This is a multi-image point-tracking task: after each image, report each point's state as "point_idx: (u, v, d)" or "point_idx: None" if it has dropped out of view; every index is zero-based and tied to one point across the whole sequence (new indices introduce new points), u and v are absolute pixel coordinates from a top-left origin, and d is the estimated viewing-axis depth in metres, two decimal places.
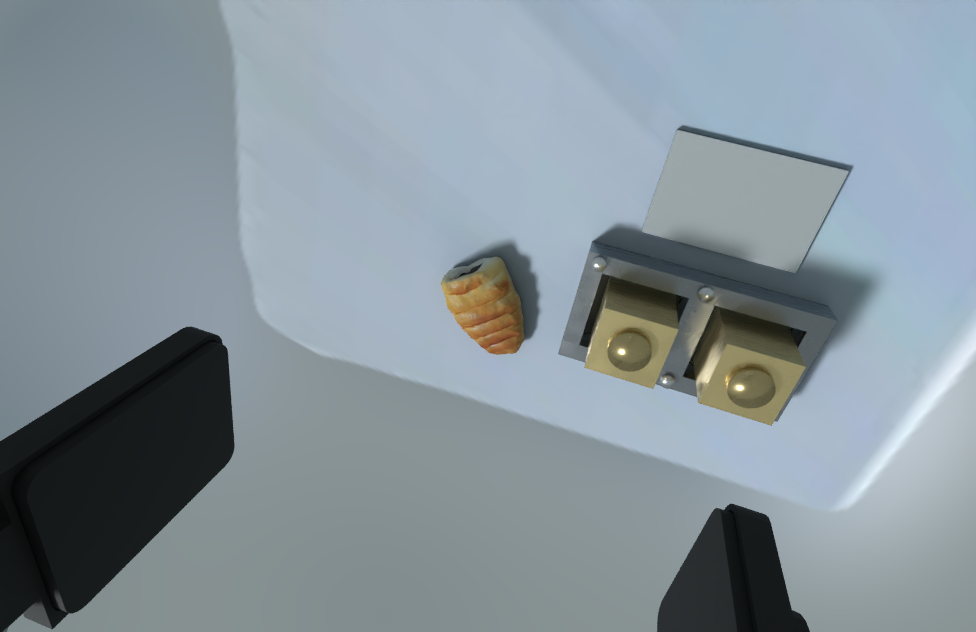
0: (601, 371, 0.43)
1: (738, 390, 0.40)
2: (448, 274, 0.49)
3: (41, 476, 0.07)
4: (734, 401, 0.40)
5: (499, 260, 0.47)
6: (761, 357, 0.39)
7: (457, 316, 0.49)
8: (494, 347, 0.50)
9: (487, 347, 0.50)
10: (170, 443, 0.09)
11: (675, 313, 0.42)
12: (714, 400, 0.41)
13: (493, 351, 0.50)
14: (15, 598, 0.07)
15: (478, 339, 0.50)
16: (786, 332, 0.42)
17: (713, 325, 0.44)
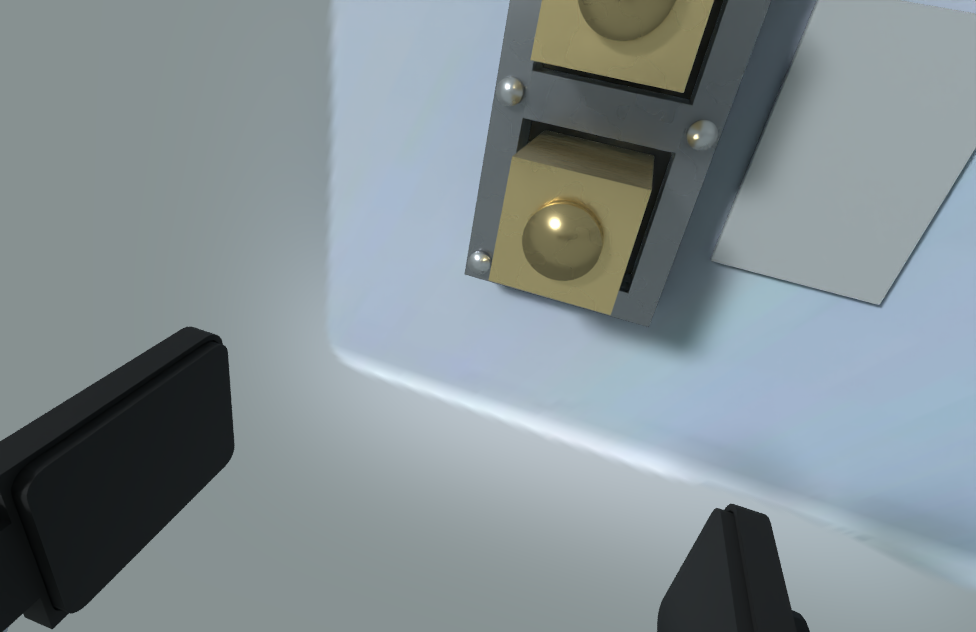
0: None
1: (557, 223, 0.21)
2: None
3: (41, 476, 0.07)
4: (532, 220, 0.22)
5: None
6: (624, 250, 0.22)
7: None
8: None
9: None
10: (170, 443, 0.09)
11: None
12: (522, 184, 0.22)
13: None
14: (15, 598, 0.07)
15: None
16: None
17: (626, 156, 0.25)
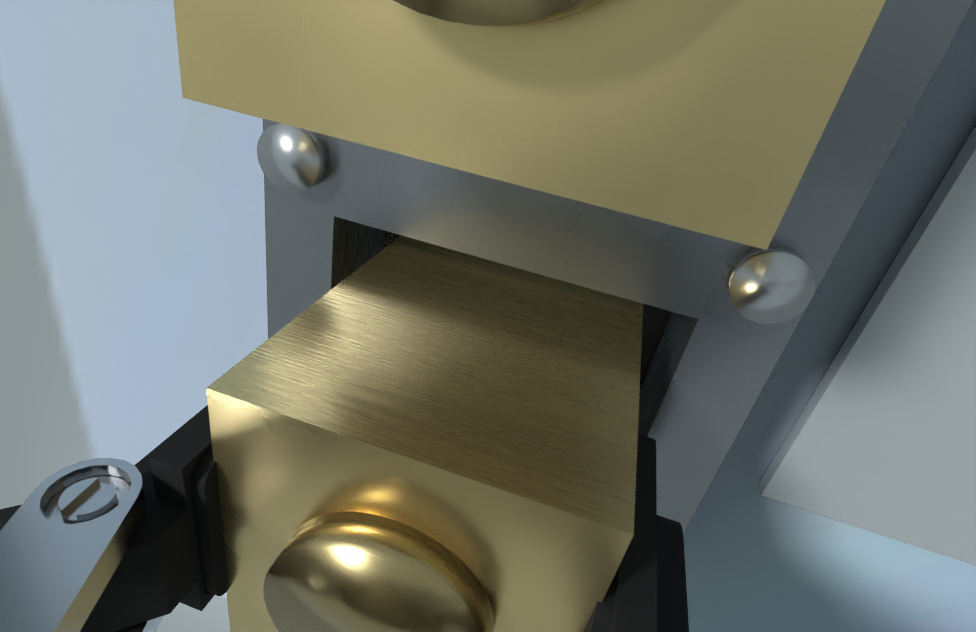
0: None
1: (349, 590, 0.07)
2: None
3: (214, 467, 0.08)
4: (280, 569, 0.07)
5: None
6: None
7: None
8: None
9: None
10: None
11: None
12: (253, 460, 0.07)
13: None
14: (182, 580, 0.08)
15: None
16: None
17: (578, 306, 0.11)
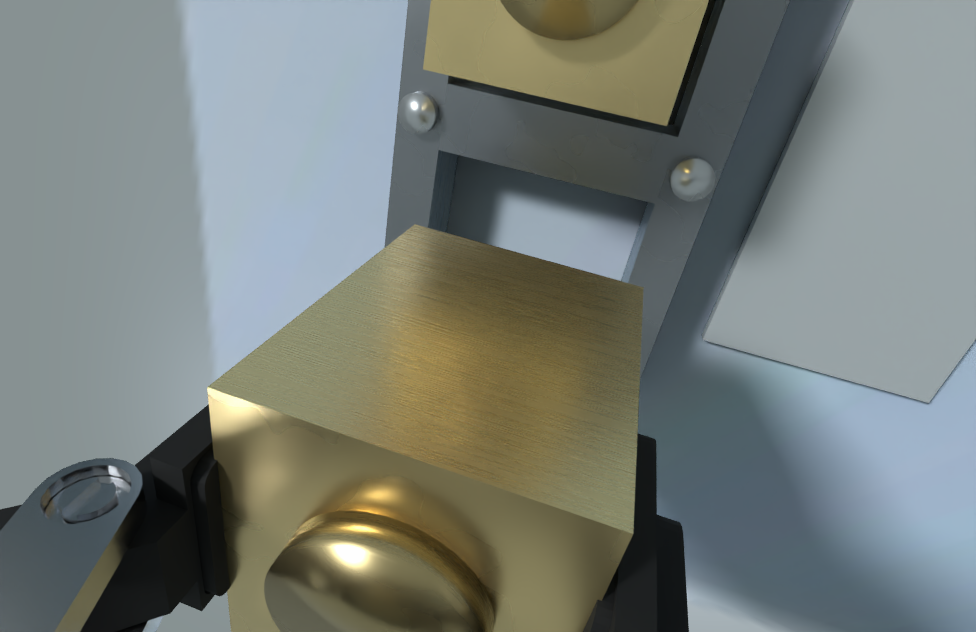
0: None
1: (350, 589, 0.07)
2: None
3: (214, 467, 0.08)
4: (281, 568, 0.07)
5: None
6: None
7: None
8: None
9: None
10: None
11: None
12: (254, 459, 0.07)
13: None
14: (182, 580, 0.08)
15: None
16: None
17: (578, 305, 0.11)
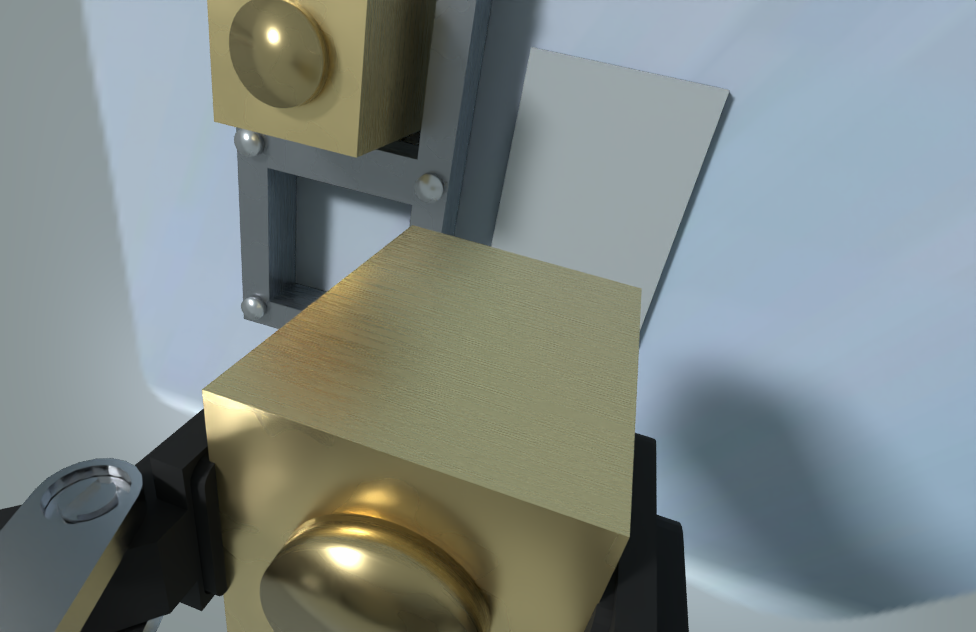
0: None
1: (345, 592, 0.07)
2: None
3: (214, 467, 0.08)
4: (276, 571, 0.07)
5: None
6: None
7: None
8: None
9: None
10: None
11: (385, 141, 0.21)
12: (249, 461, 0.07)
13: None
14: (182, 580, 0.08)
15: None
16: None
17: (575, 307, 0.11)
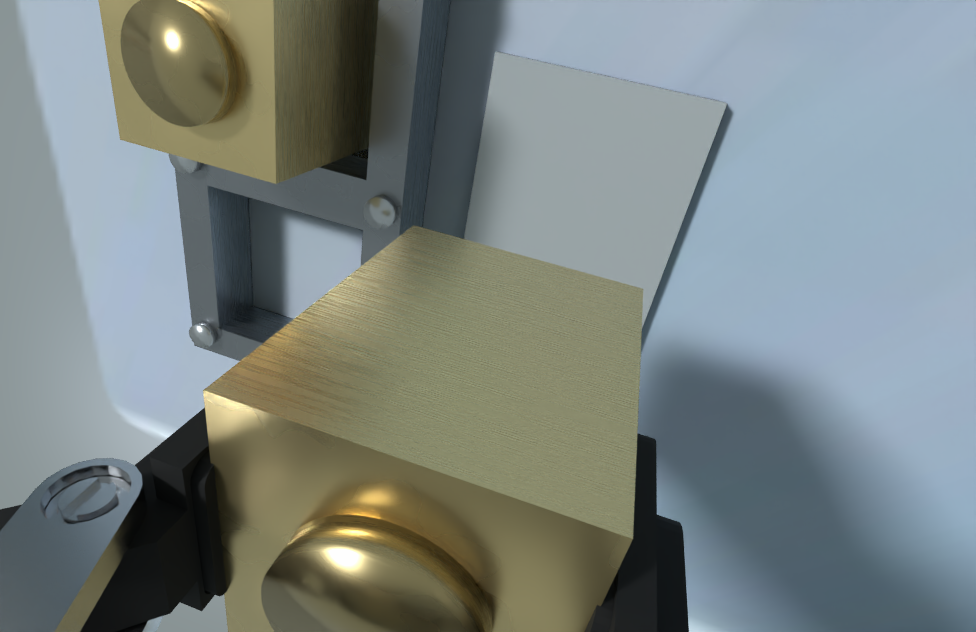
0: None
1: (347, 594, 0.07)
2: None
3: None
4: (278, 572, 0.07)
5: None
6: None
7: None
8: None
9: None
10: None
11: (322, 161, 0.18)
12: (250, 462, 0.07)
13: None
14: (182, 580, 0.08)
15: None
16: None
17: (577, 307, 0.11)
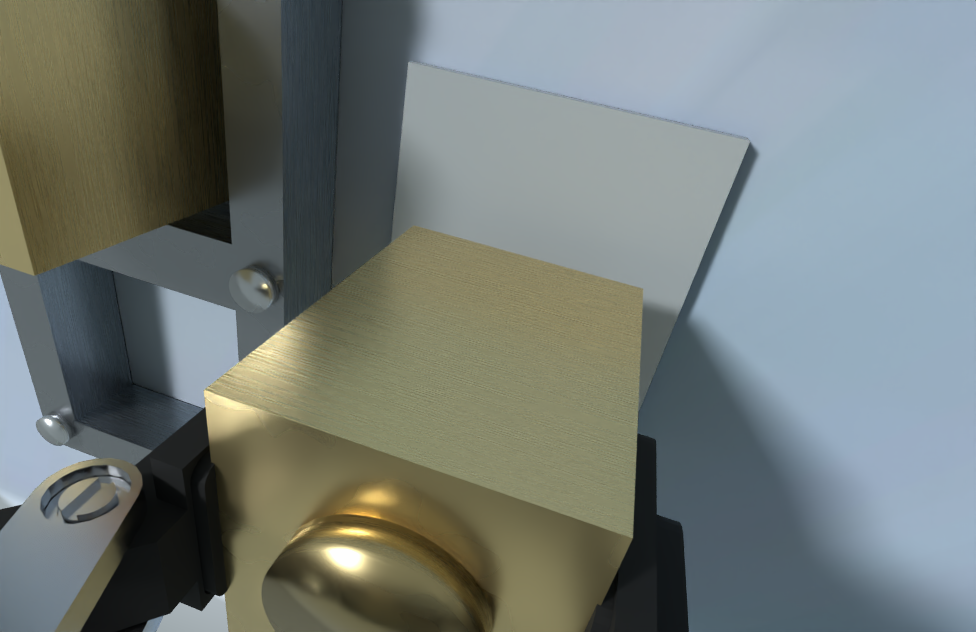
0: None
1: (347, 593, 0.07)
2: None
3: (214, 467, 0.08)
4: (278, 572, 0.07)
5: None
6: None
7: None
8: None
9: None
10: None
11: (144, 227, 0.12)
12: (251, 462, 0.07)
13: None
14: (182, 580, 0.08)
15: None
16: None
17: (577, 307, 0.11)
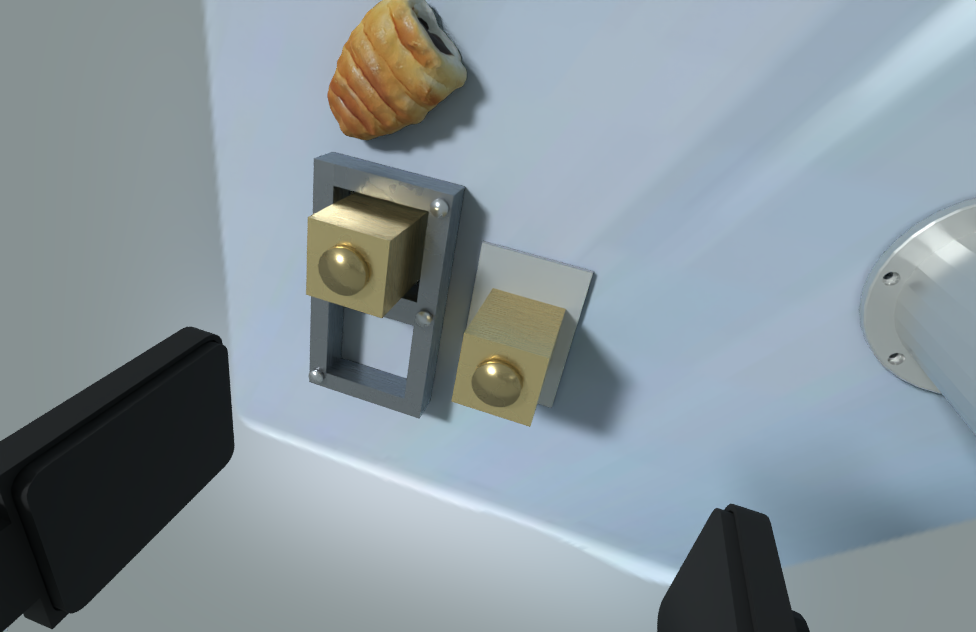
0: (309, 237, 0.34)
1: (492, 374, 0.34)
2: None
3: (41, 476, 0.07)
4: (477, 371, 0.34)
5: (463, 81, 0.33)
6: (536, 390, 0.34)
7: (362, 36, 0.32)
8: (339, 103, 0.35)
9: (334, 93, 0.35)
10: (170, 443, 0.09)
11: (398, 299, 0.38)
12: (471, 348, 0.34)
13: (333, 103, 0.35)
14: (15, 598, 0.07)
15: (340, 77, 0.34)
16: (544, 381, 0.40)
17: (544, 314, 0.38)
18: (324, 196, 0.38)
